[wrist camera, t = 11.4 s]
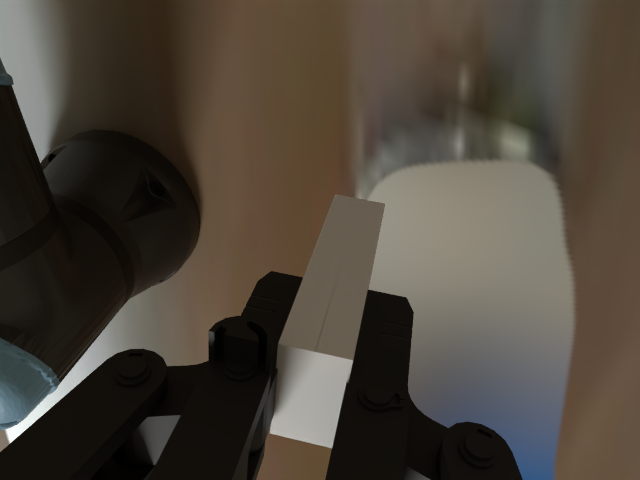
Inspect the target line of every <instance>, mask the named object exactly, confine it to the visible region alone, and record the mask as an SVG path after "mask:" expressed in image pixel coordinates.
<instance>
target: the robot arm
mask: <svg viewBox="0 0 640 480" xmlns="http://www.w3.org/2000/svg"><path fill="white" fill-rule="evenodd" d="M13 84H14V83H13V79H12V77H11V76H10V75H9V74H7V73H6V70H5V68H4V66H3V63H2V61H1V59H0V431H2V430H5V429H8V428H10V427H13V426H15V425H17V424H18V423H19V422H21V421H22V420H24V419H25V418H26V417H27V416H28V415H29V414H30V413H31V412H32V411H33V410H34V409H35V408H36V406H37V405H38V404H39V403H40V402H41V401H42V400H43V399H44V398H45V397H46V396H47V395H49V394H51V393H53V392H54V391H55V390H56V389H57V387H58V385H59V384H60V383H61V381H62V380H63V379H64V378H65V376H66V375H67V374H68V373H69V372H70V370H71V369H72V368H73V367H74V365H75V364H76V363H77V362H78V360H79V359H80V358H81V357H82V356H83V354H84V353H85V352H86V351H87V349H88V348H89V347H90V346H91V344H92V343H93V342H94V341H95V340H96V338H97V337H98V336H99V335H100V333H101V332H102V331H103V330H104V329H105V327H106V326H107V325H108V324H109V322H110V321H111V320H112V319H113V317H114V316H115V315H116V314H117V313H118V311H119V310H120V309H121V308H122V307H123V305H124V304H125V303H126V302H127V301H128V300H129V299H130V298H132V297H134V296H135V295H137V294H139V293H141V292H143V291H144V290H146V289H148V288H150V287H151V286H154V285H157V284H159V283H162V282H164V281H165V280H167V279H169V278H170V277H172V276H173V275H174V274H175V273H176V272H177V271H178V270H179V269H180V268H181V267H182V265H183V264H184V263H185V262H186V260H187V259H188V258H189V257H190V255H191V254H192V252H193V250H194V248H195V246H196V244H197V240H198V235H199V216H198V211H197V207H196V203H195V200H194V198H193V195H192V193H191V191H190V189H189V187H188V185H187V184H186V182H185V181H184V179H183V178H182V176H181V175H180V174H179V172H178V171H177V170H176V169H175V167H174V166H173V165H172V164H171V163H170V162H169V161H168V160H167V159H166V158H165V157H163V156H162V155H161V154H160V153H159V152H157V151H156V150H155V149H153V148H152V147H150V146H149V145H147V144H145V143H143V142H142V141H140V140H138V139H135V138H133V137H131V136H128V135H125V134H122V133H118V132H113V131H103V130H96V131H88V132H84V133H80V134H78V135H75V136H73V137H71V138H70V139H68V140H66V141H65V142H63V143H62V144H60V145H58V146H57V147H55V148H54V149H53V150H52V151H50V152H49V153H48V154H47V155H46V156H45V158H44V159H43V160H42V162H41V163H40V161H39V159H38V156H37V153H36V151H35V148H34V145H33V143H32V140H31V137H30V135H29V132H28V129H27V127H26V124H25V121H24V119H23V116H22V113H21V111H20V108H19V105H18V102H17V99H16V96H15V94H14V91H13V88H12V85H13ZM384 207H385V204H383V203H378V202H373V201H368V200H363V199H357V198H352V197H347V196H341V195H336V194H335V196H334V198H333V201H332V204H331V206H330V209H329V212H328V214H327V217H326V219H325V222H324V225H323V227H322V230H321V233H320V235H319V238H318V240H317V243H316V246H315V248H314V251H313V254H312V256H311V259H310V261H309V264H308V267H307V269H306V272H305V275H304V277H298V276H293V275H288V274H283V273H278V272H273V271H271V272H269V273H268V274H267V275H265V276H264V277H263V278H261V279H260V280H259V281H258V282H257V284H256V286H255V288H254V290H253V292H252V294H251V297H250V298H249V300H248V302H247V304H246V308H244V310H243V312H242V314H241V316H235V317H229V318H225V319H223V320H221V321H219V322H217V323H215V325H214V326H213V327H212V328H211V329H210V330H209V361H207V362H204V363H201V364H197V365H189V366H167V365H166V363H165V361H164V359H163V358H162V357H161V356H160V355H158V354H157V353H155V352H153V351H149V350H145V349H129V350H126V351H123V352H119V353H117V354H115V355H114V356H112V357H110V358H109V359H107V360H106V361H105V362H104V363H102V364H101V365H100V366H99V367H98V368H97V369H96V370H94V371H93V372H92V373H91V374H90V375H89V376H87V377H86V378H85V379H84V380H83V381H82V382H81V383H79V384H78V385H77V386H76V387H75V388H74V389H73V390H71V391H70V392H69V393H68V394H67V395H66V396H64V397H63V398H62V399H61V400H60V401H59V402H58V403H56V404H55V405H54V406H53V407H52V408H51V409H50V410H48V411H47V412H46V413H45V414H44V415H43V416H41V417H40V418H39V419H38V420H37V421H36V422H35V423H33V424H32V425H31V426H30V427H29V428H28V429H26V430H25V431H24V432H23V433H22V434H21V435H20V436H18V437H17V438H16V439H15V440H14V441H13V442H12V443H10V444H9V445H8V446H7V447H6V448H5V449H3V450H2V451H1V452H0V480H256V478H257V475H258V472H259V469H260V466H261V463H262V460H263V456H264V449H265V439H266V436H267V433H268V430H269V427H270V425H271V429H270V433H271V434H275V435H279V436H283V437H287V438H291V439H296V440H300V441H304V442H308V443H312V444H317V445H321V446H325V447H329V448H332V451H331V456H330V461H329V465H328V470H327V475H326V479H325V480H522V477H521V474H520V472H519V469H518V466H517V464H516V461H515V458H514V456H513V453H512V451H511V449H510V448H509V446H508V445H507V443H506V441H505V440H504V439H503V438H502V437H501V436H500V435H498V434H497V433H496V432H495V431H494V430H491V429H490V428H488V427H486V426H484V425H482V424H477V423H472V422H463V423H456V424H455V425H453V426H452V427H450V428H447V427H445V426H443V425H441V424H439V423H437V422H435V421H433V420H432V419H430V418H429V417H427V416H426V415H424V414H423V413H422V412H421V411H420V410H418V409H417V407H416V406H415V405H414V403H413V402H412V400H411V398H410V395H409V393H408V374H409V362H410V349H411V338H412V326H413V313H414V312H413V310H412V308H411V306H410V304H409V302H408V300H407V298H406V297H401V296H396V295H391V294H387V293H381V292H377V291H372V290H368V288H369V283H370V278H371V273H372V268H373V262H374V257H375V253H376V247H377V242H378V237H379V232H380V227H381V222H382V217H383V212H384Z"/></svg>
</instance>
